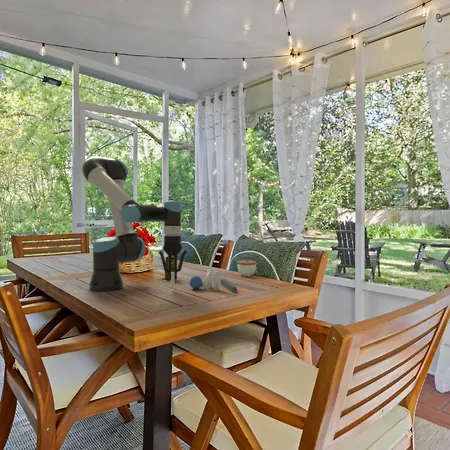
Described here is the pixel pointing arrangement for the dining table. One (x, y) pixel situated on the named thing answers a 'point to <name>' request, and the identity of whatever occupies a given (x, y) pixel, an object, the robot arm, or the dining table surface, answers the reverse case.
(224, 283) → the stopper bar
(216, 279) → the back pin right
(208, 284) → the back pin left
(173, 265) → the condiment
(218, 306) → the dining table surface
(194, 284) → the ball
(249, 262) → the lidded jar
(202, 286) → the front pin
